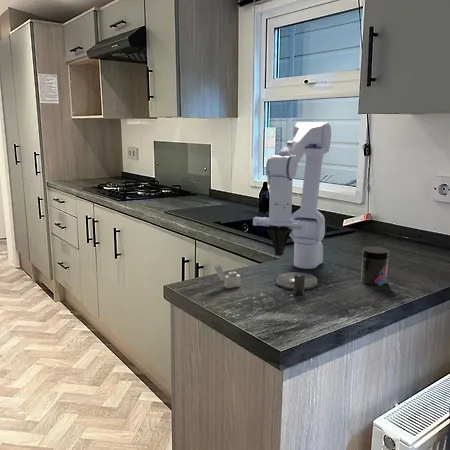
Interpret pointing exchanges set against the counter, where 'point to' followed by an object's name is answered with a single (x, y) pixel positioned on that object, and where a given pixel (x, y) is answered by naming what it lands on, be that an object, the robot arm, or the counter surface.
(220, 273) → the lighter
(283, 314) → the counter surface
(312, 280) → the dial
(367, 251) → the supplement container
